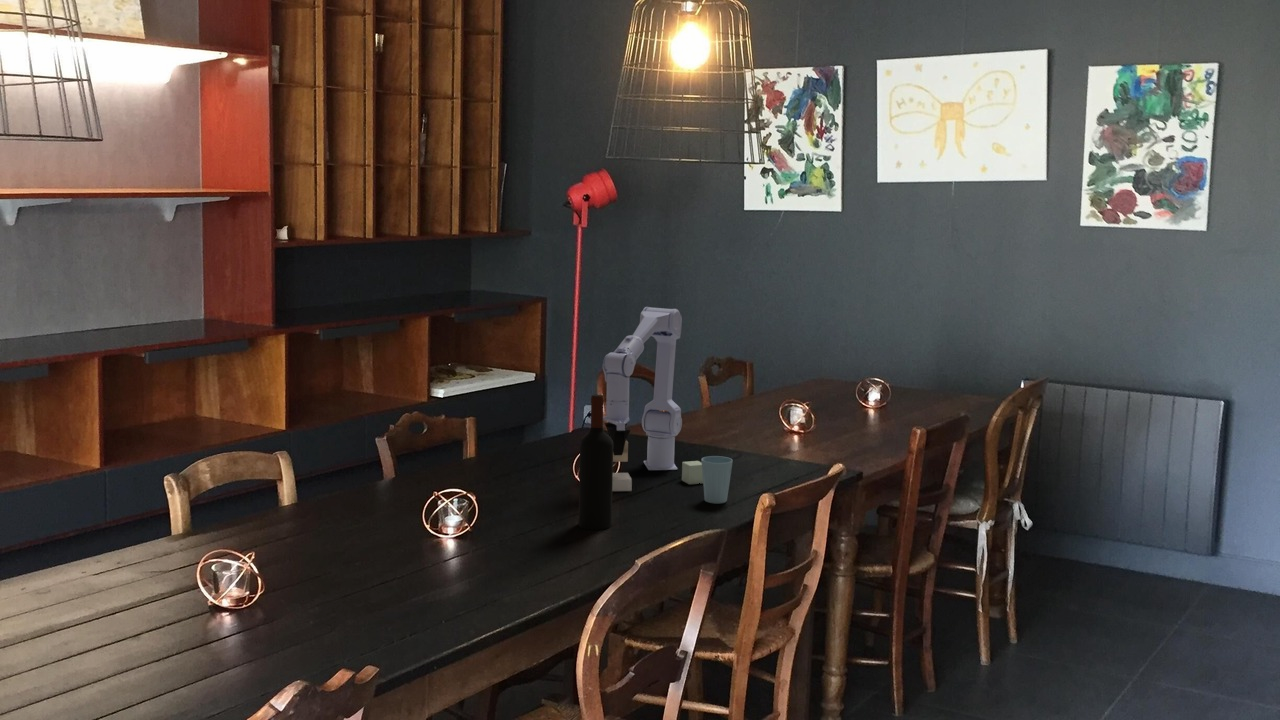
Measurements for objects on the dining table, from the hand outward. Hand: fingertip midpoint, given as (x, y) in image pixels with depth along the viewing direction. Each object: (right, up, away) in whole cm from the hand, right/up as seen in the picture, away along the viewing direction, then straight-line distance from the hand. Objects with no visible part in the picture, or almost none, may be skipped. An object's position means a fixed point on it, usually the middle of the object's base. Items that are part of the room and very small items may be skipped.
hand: (616, 452), depth 313 cm
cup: (+25, -11, -9) cm, 28 cm away
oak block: (0, -2, 0) cm, 2 cm away
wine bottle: (-4, -14, -32) cm, 35 cm away
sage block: (+20, -8, +9) cm, 23 cm away
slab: (0, -9, +1) cm, 9 cm away
